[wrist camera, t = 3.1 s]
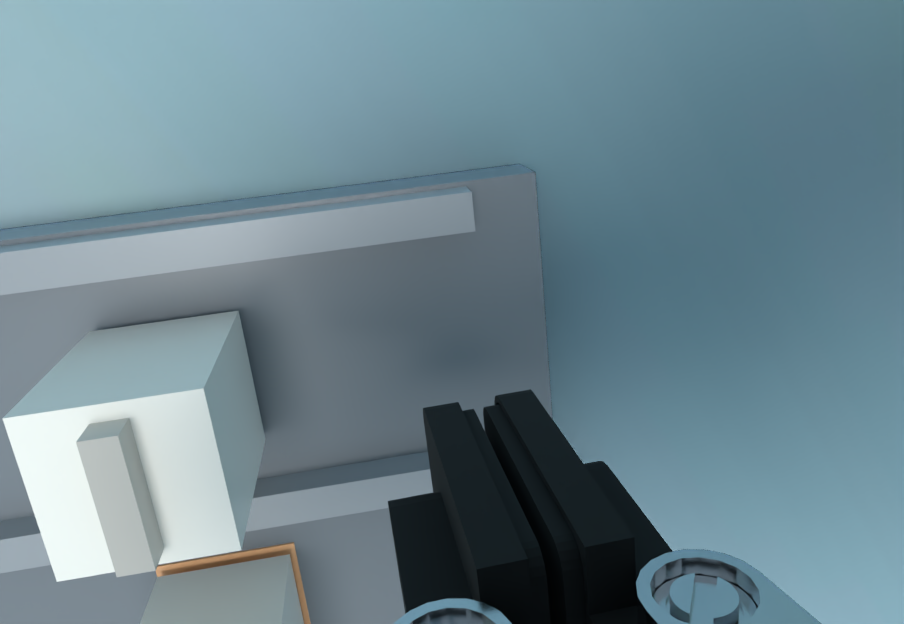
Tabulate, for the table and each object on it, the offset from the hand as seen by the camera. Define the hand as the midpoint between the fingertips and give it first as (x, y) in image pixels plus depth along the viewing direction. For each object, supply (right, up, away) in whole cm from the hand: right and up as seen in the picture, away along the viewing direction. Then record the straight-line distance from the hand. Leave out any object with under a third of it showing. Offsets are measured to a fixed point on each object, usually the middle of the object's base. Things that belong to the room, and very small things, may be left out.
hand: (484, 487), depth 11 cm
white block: (-6, +1, +4) cm, 8 cm away
